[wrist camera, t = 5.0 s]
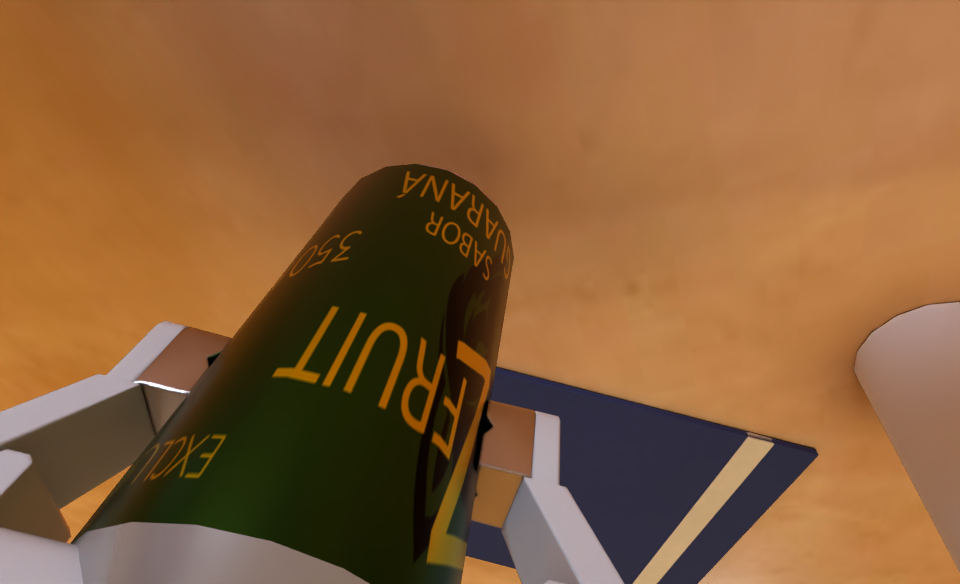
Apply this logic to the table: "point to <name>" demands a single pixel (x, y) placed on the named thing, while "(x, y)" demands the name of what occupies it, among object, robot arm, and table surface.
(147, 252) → the table surface
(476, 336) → the green drink can
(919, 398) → the white coffee cup
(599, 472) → the cloth
